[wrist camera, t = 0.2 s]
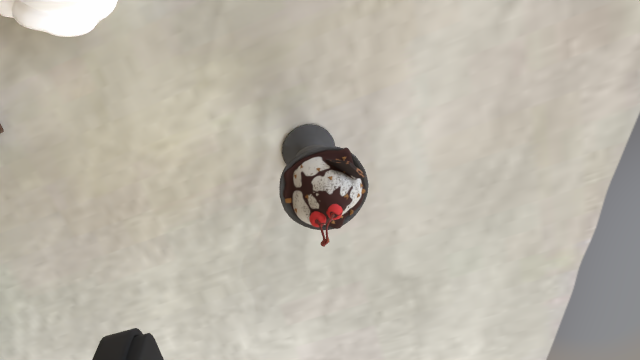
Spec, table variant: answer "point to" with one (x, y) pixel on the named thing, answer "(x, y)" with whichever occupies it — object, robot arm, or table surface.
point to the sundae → (320, 180)
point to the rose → (58, 14)
